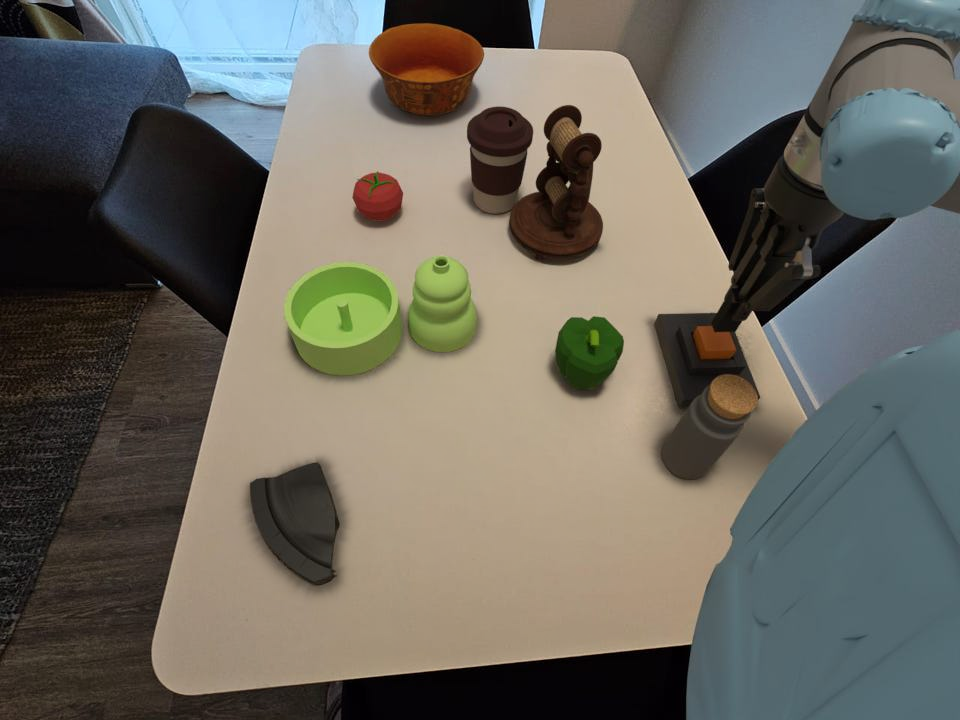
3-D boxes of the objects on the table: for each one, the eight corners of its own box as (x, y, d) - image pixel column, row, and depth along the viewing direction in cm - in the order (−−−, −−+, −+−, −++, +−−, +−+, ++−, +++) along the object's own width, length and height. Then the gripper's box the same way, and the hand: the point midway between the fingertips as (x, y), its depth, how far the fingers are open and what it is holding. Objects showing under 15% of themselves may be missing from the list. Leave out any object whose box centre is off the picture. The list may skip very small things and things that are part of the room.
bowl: (492, 81, 117) (495, 30, 109) (467, 140, 105) (468, 88, 97) (395, 65, 119) (390, 14, 111) (359, 122, 107) (352, 69, 99)
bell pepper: (563, 338, 79) (576, 290, 71) (619, 361, 77) (638, 315, 69) (539, 382, 75) (549, 336, 67) (597, 408, 73) (615, 364, 65)
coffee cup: (453, 204, 95) (453, 121, 82) (487, 174, 100) (492, 92, 87) (503, 228, 92) (510, 147, 80) (535, 196, 97) (547, 115, 84)
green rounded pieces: (291, 379, 74) (265, 318, 64) (298, 295, 82) (276, 229, 72) (482, 365, 76) (486, 303, 66) (470, 284, 85) (472, 219, 74)
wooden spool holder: (615, 255, 89) (650, 142, 73) (527, 274, 86) (543, 160, 70) (577, 196, 97) (602, 82, 81) (496, 211, 94) (504, 96, 78)
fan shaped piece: (275, 604, 58) (270, 600, 57) (250, 488, 65) (246, 482, 64) (354, 571, 60) (351, 567, 59) (322, 462, 67) (319, 456, 66)
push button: (753, 405, 74) (767, 389, 71) (678, 408, 74) (689, 391, 70) (721, 322, 82) (732, 304, 79) (653, 323, 82) (662, 305, 78)
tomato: (348, 223, 91) (340, 184, 85) (366, 193, 96) (360, 154, 89) (395, 234, 90) (390, 195, 84) (411, 203, 95) (408, 164, 88)
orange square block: (730, 359, 74) (736, 350, 72) (700, 360, 74) (706, 350, 72) (721, 335, 76) (727, 325, 75) (692, 335, 76) (697, 326, 74)
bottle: (652, 443, 70) (694, 376, 58) (693, 431, 72) (743, 363, 59) (675, 485, 67) (725, 425, 55) (718, 472, 69) (776, 409, 56)
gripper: (758, 126, 56) (680, 288, 75) (809, 217, 48) (708, 371, 68) (832, 126, 56) (736, 287, 75) (894, 216, 49) (769, 369, 68)
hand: (723, 327), depth 71 cm, fingers closed
